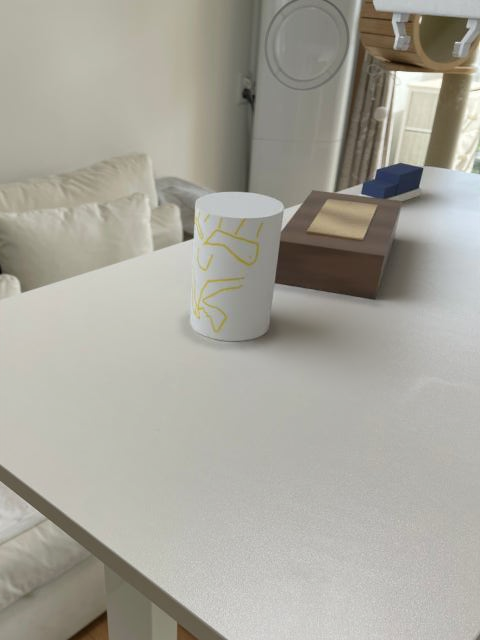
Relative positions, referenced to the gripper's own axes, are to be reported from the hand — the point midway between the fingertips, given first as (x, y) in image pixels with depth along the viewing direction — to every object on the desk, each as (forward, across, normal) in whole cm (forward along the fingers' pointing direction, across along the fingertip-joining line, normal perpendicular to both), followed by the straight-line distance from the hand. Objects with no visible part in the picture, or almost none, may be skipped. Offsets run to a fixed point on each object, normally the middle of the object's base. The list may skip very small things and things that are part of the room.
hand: (428, 53), depth 93 cm
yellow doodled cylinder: (+21, -16, +54) cm, 60 cm away
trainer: (+20, 0, +2) cm, 20 cm away
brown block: (+20, -11, +30) cm, 38 cm away
